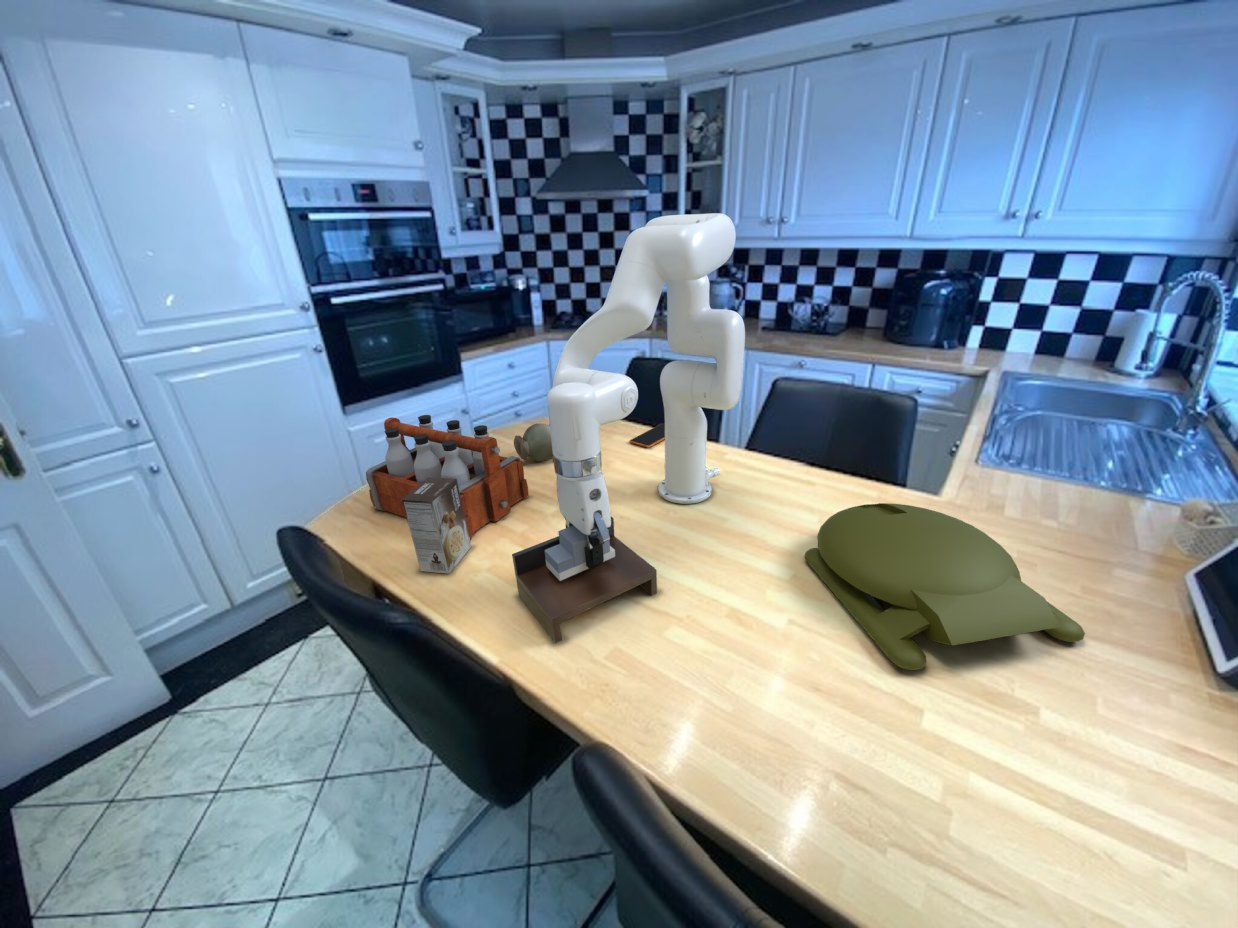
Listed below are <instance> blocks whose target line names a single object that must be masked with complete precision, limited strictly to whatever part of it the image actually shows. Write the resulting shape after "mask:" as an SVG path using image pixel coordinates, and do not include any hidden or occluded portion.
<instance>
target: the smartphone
mask: <svg viewBox="0 0 1238 928" xmlns="http://www.w3.org/2000/svg"><path fill="white" fill-rule="evenodd" d="M662 441H665V423H660V424H658V425H656V426H655V427H652V428H651V429H649V430H647V431H645V432H643V433H641V434H639V435H637V436H635V437H633V438H631V439H630V440H629V443H630V444H633V445H636V446H640V447H643V448H647V449H649V448H651V447H653V446H655V445H657V444H659V443H660V442H662Z"/></svg>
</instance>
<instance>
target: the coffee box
mask: <svg viewBox="0 0 1238 928" xmlns="http://www.w3.org/2000/svg"><path fill="white" fill-rule="evenodd" d="M402 502H403V506H404V510H405V514H406V517H405V518H406V521H407V524H408V525H407V526H408V528H409V533H410V535H411V538H412V544H413V547H414V551H415V554H416V558H417V562H418V565H419V569H420V572H427V573H438V574H447V575H448V574H451V573H452V572H453V570H454V569H455V568H456V566H457V565H458V564H459V563H460V561H461V560H462V559H463V558H464V556H465V555H466V554H467V553H468V552H469V551H470V549H471V548H472V544H471V540H470V537H469V534H468V530H467V525H466V520H465V515H464V511H463V506H462V501H461V497H460V492H459V487H458V483H457V479H456V478H430V477H428V478H426V479H425V480H424V481H423V482H422V483H421V484H419V485H418V486H417V487H416V488H415V489H414V490H412V491H411V492H410V493H409V494H408V495H406V496H405V497H404V498H403V499H402Z"/></svg>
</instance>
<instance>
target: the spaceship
mask: <svg viewBox="0 0 1238 928" xmlns="http://www.w3.org/2000/svg"><path fill="white" fill-rule="evenodd" d="M816 538H817V539H816V540H817V541H816V542H817V543H816V544H817V545H816V546H817V547H812V548H808V549H807V550H806V551H805V553H804V560H805V561H806V562H807V563H808V565H809V566H810V567H811V568H812V569H813V570H814V572H815V573H816V574H817V575H818V576H819V577H820V579H821V580H822V581H823V582H824V584H825V585H826V586H827V587H828V588H829V589H830V591H831V592H832V593H833V594H834V595H835V597H836V598H837V599H838V600H839V601H840V603H842V605H843V606H844V607H845V608H846V610H847V611H848V612H849V613H850V614H851V615H852V617H853V618H854V619H855V621H856V622H857V623H858V624H859V625H860V626H861V627H862V629H863V630H864V631H865V632H866V633H867V634H868V636H869V637H870V638H871V639H872V641H874V643H875V644H876V646H878V647H879V649H880V650H881V651H882V652H883V654H884V655H885V656H886V657H887V658H888V659H889V660H890V661H891V662H892V663H893V664H894V665H896V667H899V668H901V669H903V670H907V671H918V670H921V669H923V668H924V667H925V666H926V664H927V655H926V654H925V652H924V651H923V649H922V648H921V647H920V646H919V645H918V643H916V642H915V640H913V638H912V637H914V636H916V635H917V634H919V633H922V634H923V635H924V636H925V637H927V639H928V640H929V641H932V642H936V643H940V644H944V645H948V646H953V647H954V646H957V645H964V644H969V643H975V642H981V641H986V640H993V639H999V638H1004V637H1005V638H1006V637H1009V636H1010V637H1011V636H1016V635H1021V634H1022V635H1023V634H1027V633H1034V632H1039V631H1044V632H1046V633H1047V634H1048V635H1050V636H1051V637H1053V638H1055V639H1056V640H1060V641H1062V642H1068V643H1077V642H1080V641H1083V640H1084V638H1085V636H1086V632H1085V630H1084V629H1083V627H1082V625H1080V623H1078V622H1077V621H1075V619H1073V618H1071V617H1070V616H1068V615H1067V614H1066V613H1064V612H1062V611H1061V610H1059V609H1058V608H1057V607H1056V606H1054V605H1053V604H1052V603H1050V602H1049V601H1047V600H1046V597H1044V596H1043V595H1042V594H1040V593H1039V592H1037V591H1036V590H1035V589H1033V588H1032V587H1030V586H1029V585H1028V584H1026V583H1024V582H1023V580H1022V578H1021V577H1022V576H1021V573H1020V570H1019V567H1018V566H1017V564H1016V562H1015V560H1014V559H1013V557H1012V555H1011V554H1010V553H1009V552H1008V551H1007V550H1006V549H1005V548H1004V547H1003V546H1002V545H1001V544H1000V543H998V542H997V541H996V540H995V539H994V538H992V537H991V536H989V535H988V534H987V533H986V532H984V531H982V530H980V529H979V528H977V527H975V526H974V525H972V524H970V523H967V522H965V521H964V520H961V519H960V518H957V517H955V516H951V515H948V514H945V513H943V512H939V511H937V510H932V509H930V508H925V507H920V506H915V505H909V504H903V503H888V502H887V503H886V502H885V503H883V502H882V503H881V502H879V503H867V504H861V505H856V506H851V507H847V508H845V509H843V510H839V511H837V512H836V513H834V514H832V515H831V516H829V517H828V519H826V520H825V521H824V522H823V524H822V525H820V527H819V530H818V533H817V537H816ZM875 598H876V599H878V600H881V601H883V602H886V603H889V604H891V605H892V606H891V607H889V608H887V609H884V608H883V606H881V604H879V602H877V600H876V599H875Z"/></svg>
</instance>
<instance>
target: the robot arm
mask: <svg viewBox="0 0 1238 928" xmlns="http://www.w3.org/2000/svg"><path fill="white" fill-rule="evenodd" d="M736 239H737V235H736V227H735V225H734V222H733V220H732V219H731V218H730V216H728V215H727V214H725V213H721V212H720V213H717V212H714V213H712V212H711V213H694V214H693V213H692V214H672V215H662V216H658V217H655V218H652V219H650V220H649V221H648V222H647V223H646V224H645V225H644V226H642V227H639V228H636V229H634V230H633V231H631V232H630V233H629V235H628V236H627V238H626V240H625V243H624V246H622V247H623V248H622V251H621V254H620V257H619V259H618V262H617V265H616V268H615V271H614V274H613V276H612V280H611V283H610V285H609V289H608V292H607V295H606V298H605V301H604V303H603V305H602V306H601V307H600V309H598V310H597V311H595V313H593V314H592V315H591V316H590V317H589V318H587V319H586V320H585V321H584V322H583V324H581V325H580V326H579V327H578V328H577V329H576V330H575V331H574V332H573V334H572V335H571V336H570V337H569V339H568V340H567V342H566V343H565V345H564V347H563V349H562V351H561V354H560V357H559V359H558V363H557V366H556V369H555V373H554V376H553V379H552V386H551V388H550V389H549V390H548V392H547V396H546V405H547V413H548V425H549V424H550V433H551V441H552V450H553V457H552V458H553V466H554V474H555V477H556V494H557V495H556V496H557V504H558V510H559V512H560V514H561V515H562V517H563V518H564V520H565V525H564V526H565V528H568V527H570V526H573V525H574V526H575V527H576V528H577V529H578V530H580V531H581V532H582V533H584V537H585V541H586V545H587V547H585V558H586V566H587V567H588V568H591V567H593V566H595V565H597V564H600V563H602V562H603V561H604V556H603V544H604V542H606V541H608V540H610V536H609V534H608V531H607V529H606V528H608V527H610V526H611V517H612V516H611V509H610V508H611V507H610V501H609V500H610V499H609V494H608V488H607V484H606V480H605V476H604V473H603V472H602V471H603V462H602V450H601V448H602V447H601V435H600V434H601V433H600V428H601V426H604V425H606V424H610V423H614V422H618V421H621V420H623V419H625V418H626V417H628V416H629V415H630V414H632V412H633V411H634V409H636V406H637V404H638V400H639V390H638V387H637V384H636V382H635V381H634V380H633V379H632V378H631V377H629V376H628V375H625V374H624V373H623V374H622V373H619V372H611V371H603V370H598V369H590V366H591V364H592V363H593V361H594V359H595V358H596V357H597V356H598V355H599V353H601V352H602V351H603V350H605V349H606V348H607V347H609V346H611V345H613V344H615V343H617V342H620V341H622V340H625V339H627V338H630V337H632V336H634V335H638V334H639V333H641V332H644V331H645V330H647V329H648V328H649V327H650V326H651V325H652V322H653V320H654V317H655V314H656V311H657V309H658V308H657V307H658V305H659V301H660V298H661V296H662V293H663V289H664V287H665V286H666V304H667V305H666V311H667V312H666V334H667V335H666V338H667V344H668V347H669V349H670V350H671V351H672V352H674V353H676V354H678V355H679V354H680V355H685V356H691V357H701V358H712V359H714V361H715V362H710V361H709V362H707V361H703V360H702V361H701V360H690V359H676V360H672V361H670V362H668V363H667V364H666V365H665V366H664V367H663V368H662V370H661V372H660V377H659V385H660V386H659V388H660V393H661V397H662V398H661V399H662V403H663V414H664V424H665V439H664V480H662V481H661V482H660V483H659V484H658V494H659V496H660V497H661V498H663V499H664V500H666V501H667V502H671V503H675V504H682V505H690V504H696V503H701V502H704V501H705V500H707V499H708V498H709V497H710V496H711V495H712V490H713V489H712V485H711V484H710V482H709V481H710V480H712V478H715V477H718V476H720V473H721V471H720V469H719V468H717V467H715V468H713V469H710V470H709V468H708V466H707V439H708V420H707V417H706V415H705V412H704V411H703V409H702V408H704V409H712V410H719V411H729V410H732V409H734V408H735V407H736V406H737V405H738V403H739V401H740V399H741V395H742V390H743V389H742V387H743V380H744V379H743V376H744V363H745V362H744V361H745V347H746V346H745V345H746V328H745V327H746V326H745V322H744V320H743V317H742V316H741V314H739V313H738V312H737V311H735V310H731V309H722V308H721V309H720V308H711V305H710V288H711V287H710V284H711V283H710V280H709V277H708V275H710V274H711V273H712V272H714V271H716V270H717V269H719V268H721V267H723V265H725V263H727V262H728V260H730V258H731V256H732V254H733V252H734V249H735V245H736ZM593 525H594V526H595V527H593ZM595 532H596V535H597V537H596V538H594V539H593V540H592V541H591V537H590V534H593V533H595Z"/></svg>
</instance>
